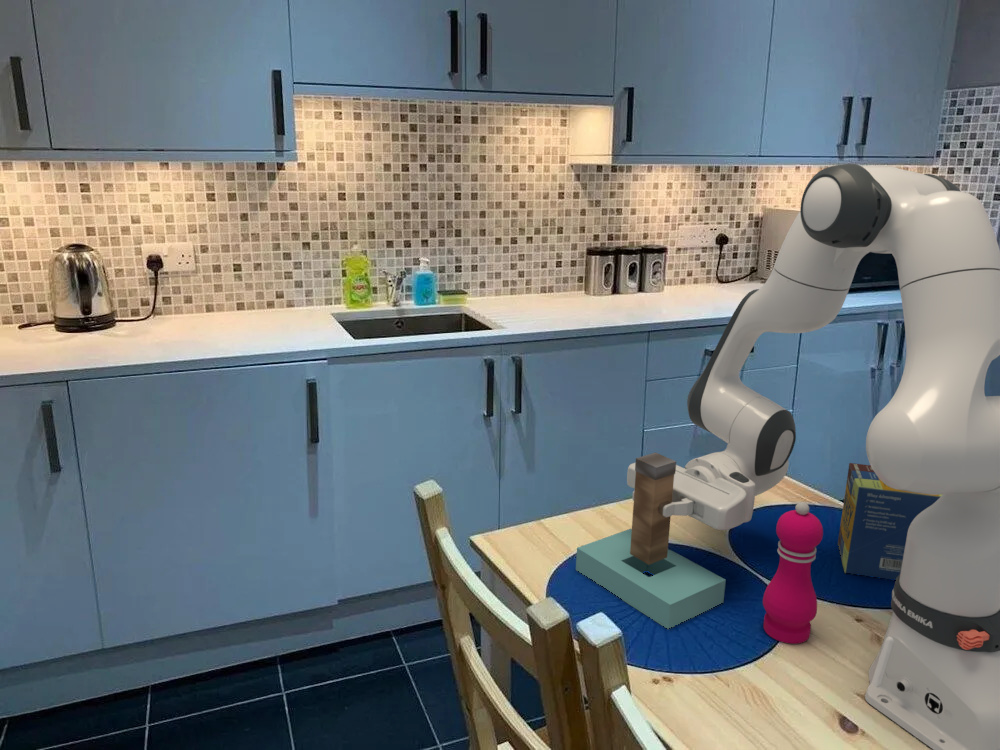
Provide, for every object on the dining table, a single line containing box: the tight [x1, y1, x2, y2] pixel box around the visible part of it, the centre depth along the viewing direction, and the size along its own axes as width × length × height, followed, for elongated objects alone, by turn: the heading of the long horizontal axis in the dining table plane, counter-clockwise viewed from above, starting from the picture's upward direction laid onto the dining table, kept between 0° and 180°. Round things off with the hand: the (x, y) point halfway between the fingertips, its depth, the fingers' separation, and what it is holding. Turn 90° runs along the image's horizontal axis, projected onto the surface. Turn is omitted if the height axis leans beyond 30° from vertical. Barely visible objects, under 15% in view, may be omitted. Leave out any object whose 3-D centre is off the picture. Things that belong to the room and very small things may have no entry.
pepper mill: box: [762, 501, 824, 645], centre depth 111 cm, size 7×7×20 cm
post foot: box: [575, 528, 727, 630], centre depth 125 cm, size 20×12×4 cm, turn 36°
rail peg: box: [630, 452, 677, 565], centre depth 122 cm, size 4×4×16 cm
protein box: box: [837, 462, 943, 581], centre depth 131 cm, size 10×15×16 cm
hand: (648, 504), depth 121 cm, fingers closed on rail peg, 4 cm apart
